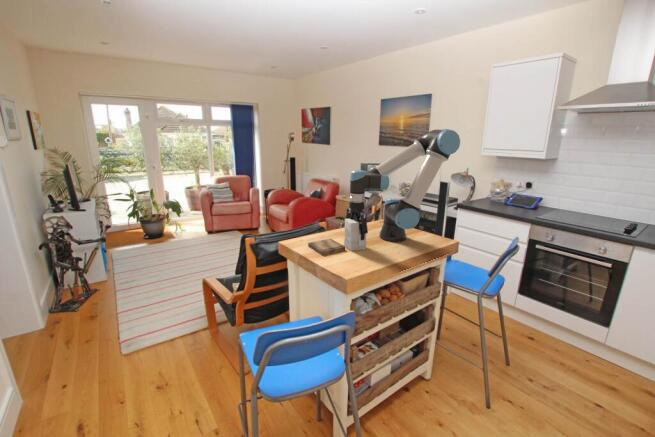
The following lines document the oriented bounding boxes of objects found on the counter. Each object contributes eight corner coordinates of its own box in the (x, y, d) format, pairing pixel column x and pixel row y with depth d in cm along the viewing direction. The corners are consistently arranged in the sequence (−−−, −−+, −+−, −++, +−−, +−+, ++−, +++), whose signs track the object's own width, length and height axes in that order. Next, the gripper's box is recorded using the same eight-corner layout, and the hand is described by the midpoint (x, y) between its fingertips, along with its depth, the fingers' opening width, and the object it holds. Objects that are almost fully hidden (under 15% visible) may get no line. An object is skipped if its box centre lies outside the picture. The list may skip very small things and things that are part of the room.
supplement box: (359, 243, 169) (360, 217, 165) (366, 249, 161) (367, 221, 157) (343, 245, 166) (344, 218, 162) (350, 251, 158) (351, 223, 154)
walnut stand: (330, 242, 170) (330, 238, 170) (345, 250, 159) (345, 245, 158) (308, 246, 163) (308, 242, 163) (321, 255, 152) (321, 250, 151)
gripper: (338, 197, 164) (337, 237, 170) (364, 206, 146) (362, 250, 152) (349, 196, 168) (348, 235, 174) (377, 204, 150) (374, 247, 156)
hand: (354, 242), depth 163 cm, fingers closed on supplement box, 10 cm apart
